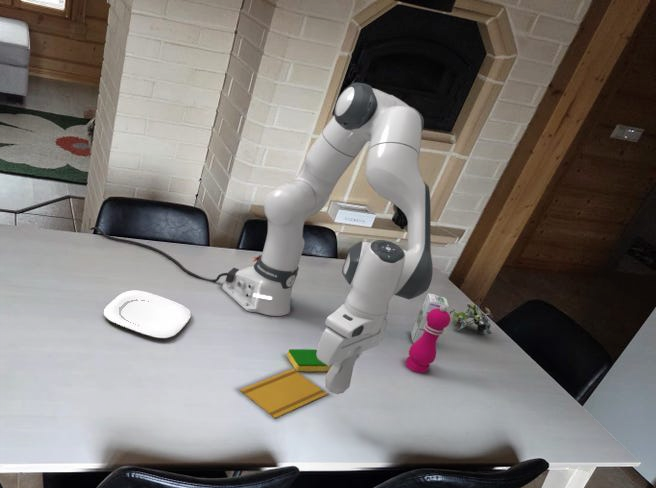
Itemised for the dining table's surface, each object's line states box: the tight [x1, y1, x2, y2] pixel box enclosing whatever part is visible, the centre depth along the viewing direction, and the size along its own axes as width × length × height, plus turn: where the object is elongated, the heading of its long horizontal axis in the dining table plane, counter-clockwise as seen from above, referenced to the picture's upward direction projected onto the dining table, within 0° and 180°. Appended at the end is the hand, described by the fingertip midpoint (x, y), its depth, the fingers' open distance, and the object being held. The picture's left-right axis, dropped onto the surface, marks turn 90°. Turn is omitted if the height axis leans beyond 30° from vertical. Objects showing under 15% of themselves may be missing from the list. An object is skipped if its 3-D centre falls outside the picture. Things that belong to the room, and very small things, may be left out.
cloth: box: [239, 368, 328, 419], centre depth 160 cm, size 12×20×1 cm, turn 130°
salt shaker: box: [324, 346, 361, 395], centre depth 145 cm, size 6×6×13 cm
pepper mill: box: [405, 305, 451, 374], centre depth 177 cm, size 7×7×20 cm
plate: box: [103, 289, 192, 340], centre depth 178 cm, size 22×22×2 cm
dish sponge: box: [286, 348, 333, 372], centre depth 173 cm, size 7×14×2 cm, turn 104°
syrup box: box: [410, 292, 450, 344], centre depth 192 cm, size 6×6×14 cm
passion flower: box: [449, 301, 493, 336], centre depth 205 cm, size 11×11×12 cm
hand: (341, 368), depth 145 cm, fingers closed on salt shaker, 3 cm apart
